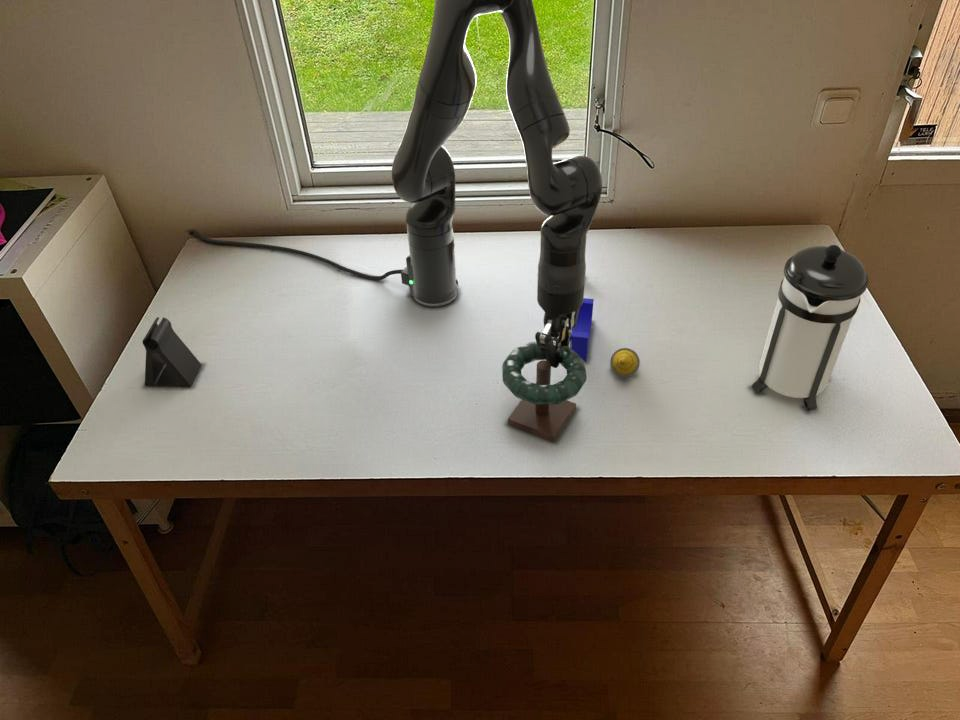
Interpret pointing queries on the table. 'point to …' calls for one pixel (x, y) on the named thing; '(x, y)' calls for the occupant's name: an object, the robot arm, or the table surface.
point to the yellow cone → (624, 362)
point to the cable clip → (582, 329)
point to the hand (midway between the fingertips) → (557, 358)
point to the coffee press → (810, 321)
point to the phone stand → (168, 358)
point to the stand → (542, 411)
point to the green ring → (543, 392)
